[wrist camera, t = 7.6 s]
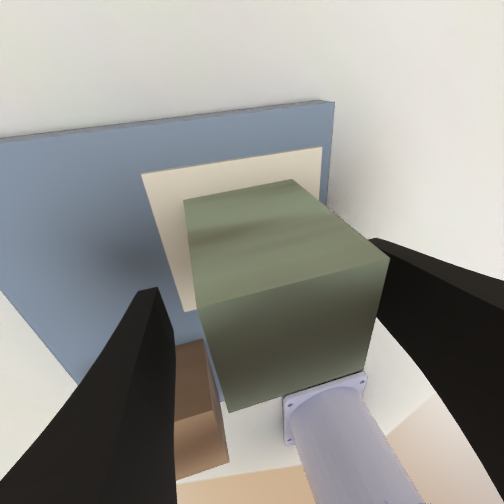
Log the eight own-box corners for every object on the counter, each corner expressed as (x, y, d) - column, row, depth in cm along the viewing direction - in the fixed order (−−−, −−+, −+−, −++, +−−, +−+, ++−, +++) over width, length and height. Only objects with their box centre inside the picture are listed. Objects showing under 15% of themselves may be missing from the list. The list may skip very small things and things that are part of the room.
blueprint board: (305, 360, 21) (313, 376, 20) (120, 415, 19) (117, 436, 18) (320, 100, 11) (337, 102, 10) (-78, 147, 9) (-115, 158, 8)
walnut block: (218, 394, 18) (229, 462, 15) (127, 421, 17) (118, 500, 14) (202, 338, 15) (212, 410, 12) (89, 368, 14) (65, 455, 11)
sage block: (293, 265, 14) (363, 369, 9) (205, 286, 13) (228, 413, 8) (292, 178, 11) (389, 258, 6) (183, 199, 10) (196, 307, 5)
